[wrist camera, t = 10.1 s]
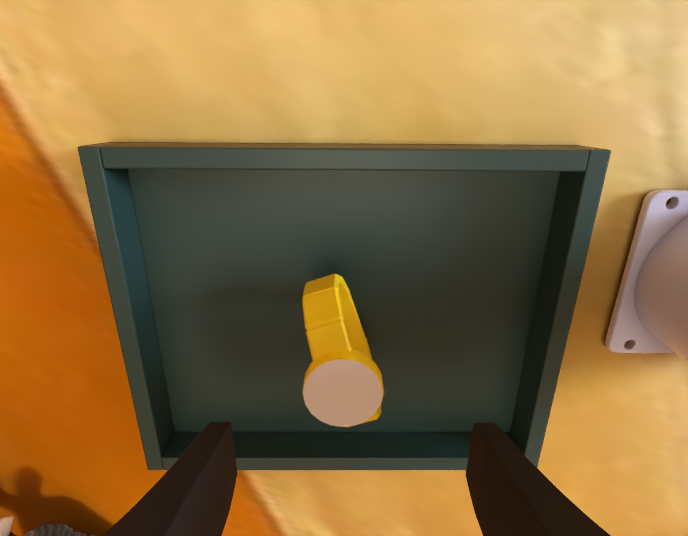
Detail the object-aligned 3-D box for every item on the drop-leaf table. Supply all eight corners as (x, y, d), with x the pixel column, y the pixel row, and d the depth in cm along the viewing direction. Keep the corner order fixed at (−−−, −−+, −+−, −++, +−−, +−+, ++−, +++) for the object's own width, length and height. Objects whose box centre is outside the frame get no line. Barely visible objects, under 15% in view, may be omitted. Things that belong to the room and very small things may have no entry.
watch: (389, 359, 20) (407, 453, 15) (336, 374, 21) (335, 471, 15) (351, 251, 18) (356, 312, 13) (293, 269, 19) (273, 337, 13)
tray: (578, 145, 17) (612, 150, 15) (518, 436, 23) (537, 470, 21) (109, 141, 17) (76, 146, 15) (165, 436, 23) (147, 470, 20)
